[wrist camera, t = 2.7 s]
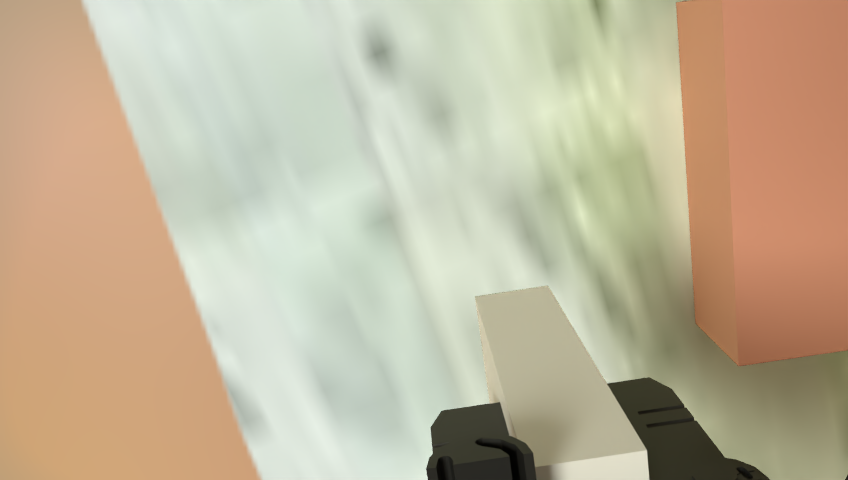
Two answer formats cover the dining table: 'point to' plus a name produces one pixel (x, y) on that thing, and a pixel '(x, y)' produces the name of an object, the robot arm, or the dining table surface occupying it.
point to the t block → (767, 173)
